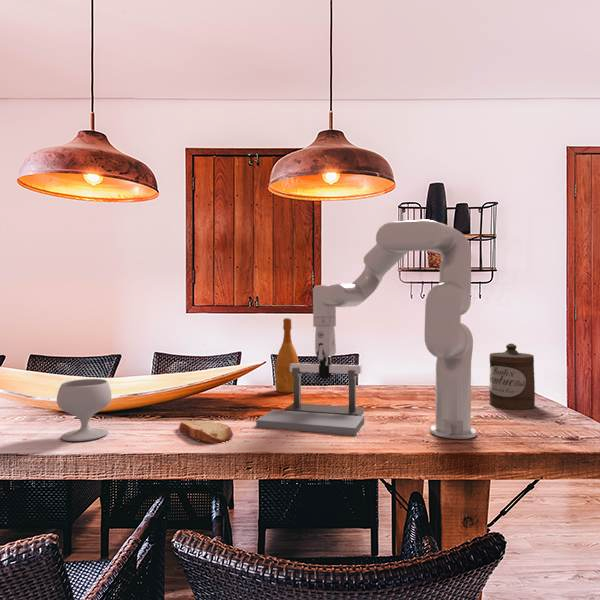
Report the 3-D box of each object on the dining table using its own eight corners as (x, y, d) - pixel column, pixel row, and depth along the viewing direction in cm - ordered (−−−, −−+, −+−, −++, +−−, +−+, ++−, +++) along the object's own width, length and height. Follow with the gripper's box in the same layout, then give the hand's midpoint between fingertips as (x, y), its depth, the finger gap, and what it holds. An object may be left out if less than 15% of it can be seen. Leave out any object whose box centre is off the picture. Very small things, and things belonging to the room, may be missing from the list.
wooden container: (481, 404, 175) (481, 343, 175) (501, 399, 184) (501, 341, 184) (523, 412, 164) (523, 346, 163) (541, 405, 173) (541, 343, 173)
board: (355, 435, 136) (355, 428, 136) (256, 426, 145) (256, 420, 145) (364, 422, 150) (364, 416, 150) (272, 415, 159) (272, 409, 159)
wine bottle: (303, 390, 202) (303, 318, 202) (291, 394, 194) (291, 319, 194) (283, 388, 207) (283, 317, 207) (270, 392, 199) (270, 318, 199)
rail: (360, 373, 158) (360, 366, 158) (289, 371, 165) (289, 364, 165) (361, 372, 160) (361, 365, 160) (292, 370, 167) (292, 363, 167)
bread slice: (182, 426, 147) (182, 414, 147) (241, 427, 146) (241, 415, 146) (160, 444, 129) (160, 430, 129) (227, 446, 128) (227, 431, 128)
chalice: (52, 434, 137) (51, 381, 137) (103, 426, 146) (103, 376, 146) (63, 447, 126) (62, 389, 126) (118, 437, 135) (118, 383, 135)
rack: (358, 419, 154) (358, 372, 154) (284, 413, 162) (283, 369, 162) (364, 412, 164) (364, 368, 164) (293, 407, 171) (293, 365, 171)
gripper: (329, 323, 154) (330, 381, 154) (340, 321, 169) (341, 374, 169) (306, 323, 156) (307, 380, 156) (319, 321, 171) (320, 373, 171)
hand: (325, 376), depth 162 cm, fingers closed on rail, 2 cm apart
